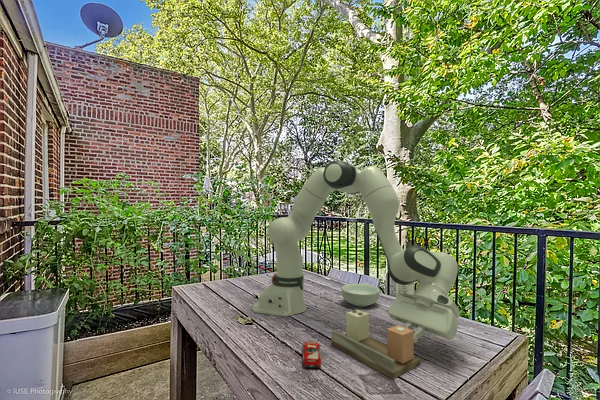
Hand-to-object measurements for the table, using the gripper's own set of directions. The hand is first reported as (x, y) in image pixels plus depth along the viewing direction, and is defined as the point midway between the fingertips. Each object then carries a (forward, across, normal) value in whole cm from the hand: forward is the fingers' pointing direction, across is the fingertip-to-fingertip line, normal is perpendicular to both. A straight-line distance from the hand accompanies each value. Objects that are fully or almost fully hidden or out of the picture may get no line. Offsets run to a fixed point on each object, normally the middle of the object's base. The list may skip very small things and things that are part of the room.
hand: (409, 340), depth 86 cm
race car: (+20, -17, -12) cm, 29 cm away
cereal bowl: (-14, -42, +22) cm, 49 cm away
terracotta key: (+6, 0, -1) cm, 6 cm away
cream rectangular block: (+6, -16, -1) cm, 17 cm away
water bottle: (-16, -21, +24) cm, 36 cm away
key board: (+8, -8, 0) cm, 11 cm away
